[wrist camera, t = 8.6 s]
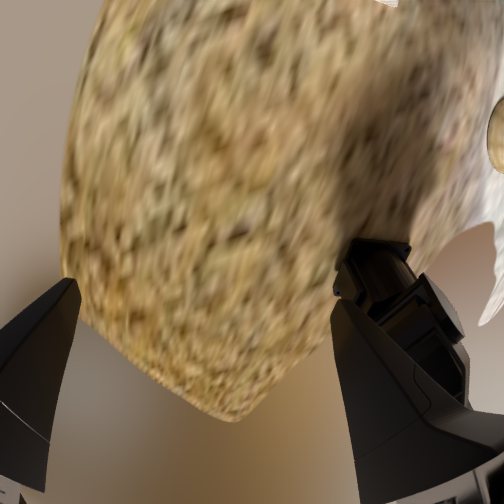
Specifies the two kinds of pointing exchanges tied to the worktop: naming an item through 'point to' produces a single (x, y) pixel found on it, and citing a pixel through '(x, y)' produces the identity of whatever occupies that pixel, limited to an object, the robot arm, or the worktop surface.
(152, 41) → the worktop surface
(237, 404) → the worktop surface
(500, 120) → the hand bell
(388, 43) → the worktop surface
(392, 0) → the tile
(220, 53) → the worktop surface
